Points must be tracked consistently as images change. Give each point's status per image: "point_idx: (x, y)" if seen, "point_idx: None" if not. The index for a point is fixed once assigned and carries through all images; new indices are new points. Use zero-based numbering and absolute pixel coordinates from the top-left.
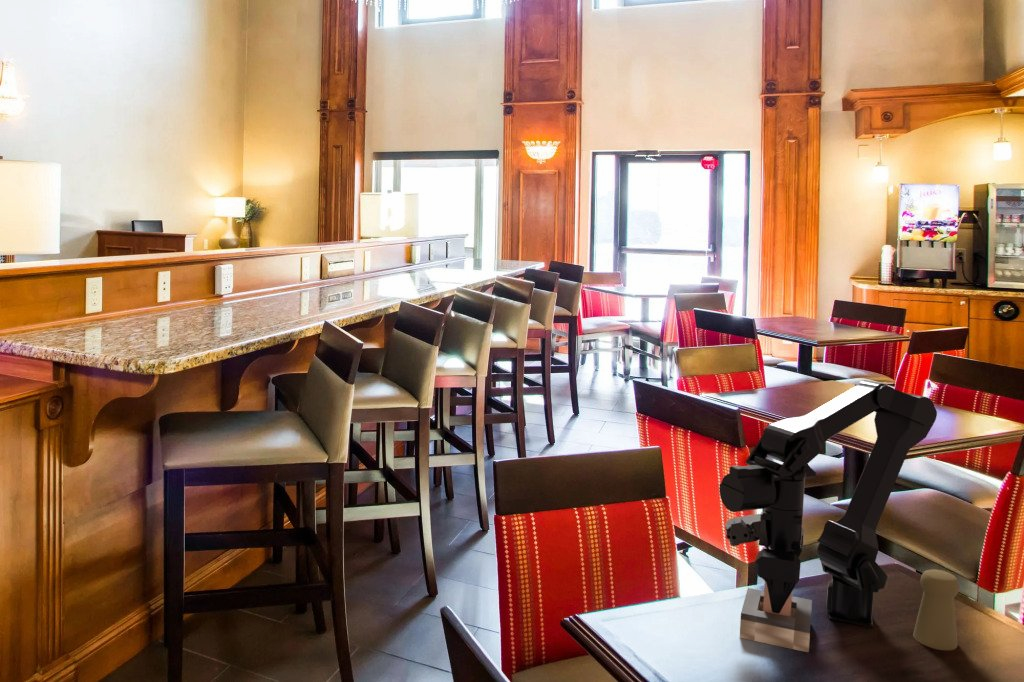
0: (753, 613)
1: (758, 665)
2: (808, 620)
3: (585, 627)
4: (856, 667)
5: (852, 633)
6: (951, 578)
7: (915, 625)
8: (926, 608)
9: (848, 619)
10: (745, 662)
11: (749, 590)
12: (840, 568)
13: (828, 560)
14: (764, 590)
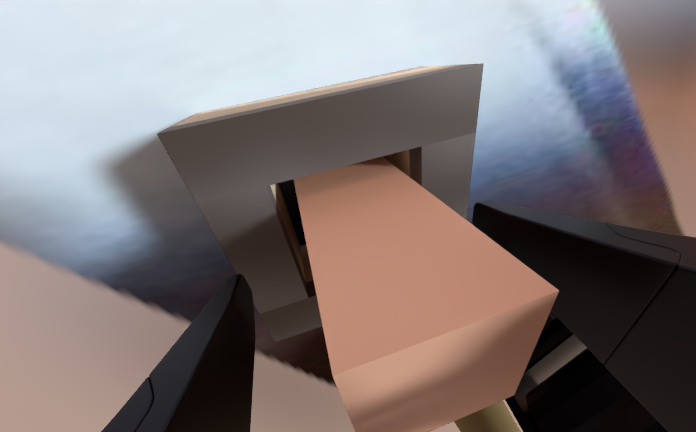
0: (215, 186)
1: (67, 230)
2: (316, 323)
3: None
4: (285, 347)
5: None
6: None
7: None
8: (471, 419)
9: None
10: (33, 194)
11: (455, 82)
12: (563, 414)
13: (619, 393)
14: (309, 254)
